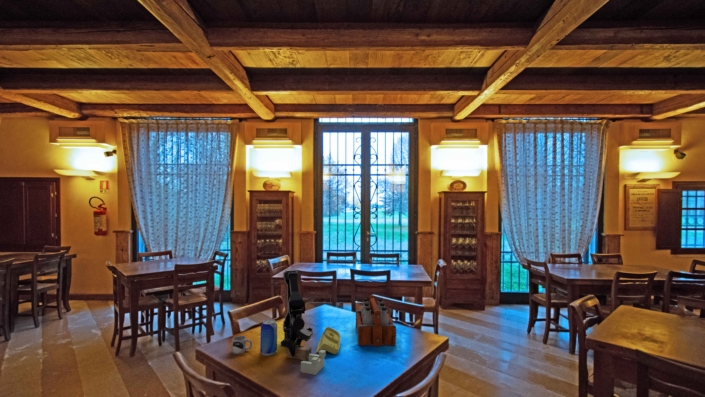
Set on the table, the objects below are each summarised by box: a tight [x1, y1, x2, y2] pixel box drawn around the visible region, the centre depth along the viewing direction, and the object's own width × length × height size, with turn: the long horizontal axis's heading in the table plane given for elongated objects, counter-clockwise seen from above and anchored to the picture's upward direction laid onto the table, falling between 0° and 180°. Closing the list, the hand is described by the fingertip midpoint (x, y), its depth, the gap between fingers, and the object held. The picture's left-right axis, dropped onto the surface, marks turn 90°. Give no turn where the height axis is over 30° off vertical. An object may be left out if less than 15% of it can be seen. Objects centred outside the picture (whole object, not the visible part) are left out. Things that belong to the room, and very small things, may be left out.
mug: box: [231, 335, 253, 355], centre depth 167 cm, size 10×7×7 cm, turn 94°
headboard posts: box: [300, 349, 327, 376], centre depth 149 cm, size 8×10×7 cm
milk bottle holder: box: [355, 294, 397, 347], centre depth 190 cm, size 21×35×19 cm, turn 2°
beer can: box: [259, 318, 278, 357], centre depth 165 cm, size 8×8×16 cm
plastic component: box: [315, 326, 341, 355], centre depth 174 cm, size 20×7×10 cm
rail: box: [285, 344, 312, 362], centre depth 161 cm, size 12×4×5 cm, turn 71°
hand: (295, 354), depth 161 cm, fingers closed on rail, 4 cm apart
